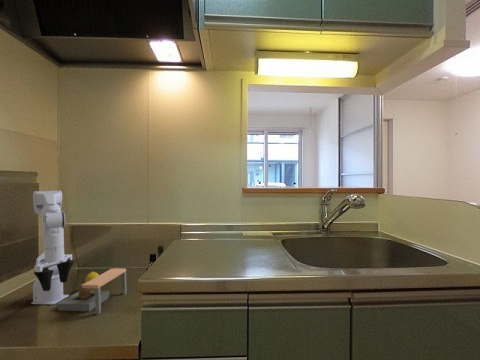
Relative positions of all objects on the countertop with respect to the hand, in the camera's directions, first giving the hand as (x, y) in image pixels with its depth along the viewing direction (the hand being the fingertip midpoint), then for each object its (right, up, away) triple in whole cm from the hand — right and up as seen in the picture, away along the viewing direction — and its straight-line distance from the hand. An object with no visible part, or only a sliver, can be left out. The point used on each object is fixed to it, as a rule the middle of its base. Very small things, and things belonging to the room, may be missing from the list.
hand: (55, 286), depth 97 cm
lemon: (+3, -10, +20) cm, 22 cm away
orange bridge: (+14, -9, +7) cm, 18 cm away
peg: (+6, -9, +7) cm, 13 cm away
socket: (+6, -9, +7) cm, 13 cm away
